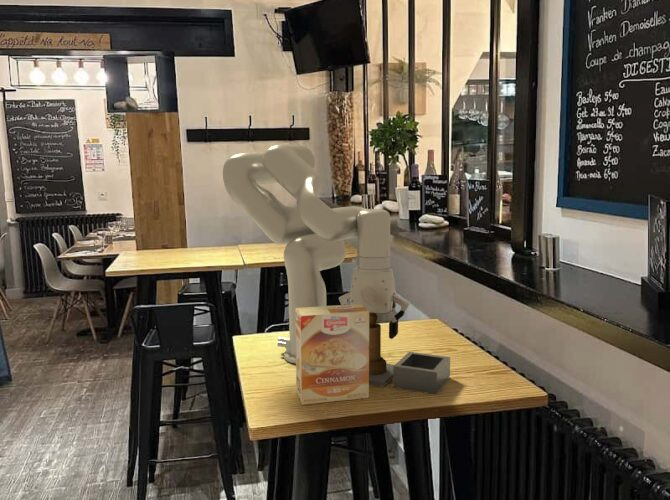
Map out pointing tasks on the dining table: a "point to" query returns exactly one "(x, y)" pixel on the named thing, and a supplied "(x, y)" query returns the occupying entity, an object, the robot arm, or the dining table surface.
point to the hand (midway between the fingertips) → (373, 334)
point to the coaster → (382, 377)
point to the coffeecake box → (332, 353)
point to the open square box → (421, 372)
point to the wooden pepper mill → (375, 347)
